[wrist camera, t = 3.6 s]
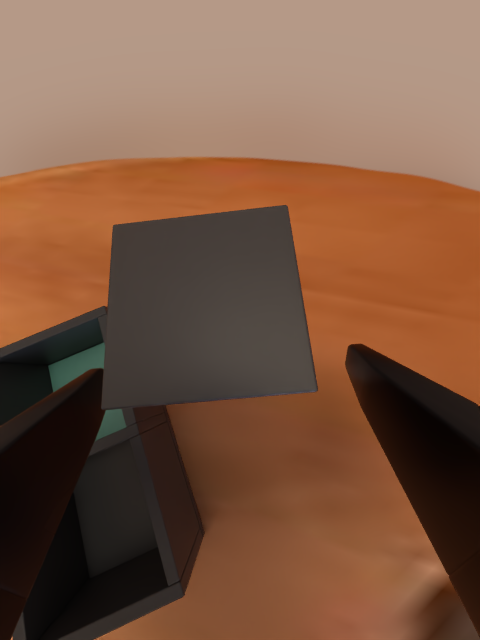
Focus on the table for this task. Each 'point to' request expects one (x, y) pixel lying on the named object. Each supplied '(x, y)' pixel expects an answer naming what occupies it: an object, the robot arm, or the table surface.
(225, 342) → the white gray rectangular block
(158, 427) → the organizer
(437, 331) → the table surface
